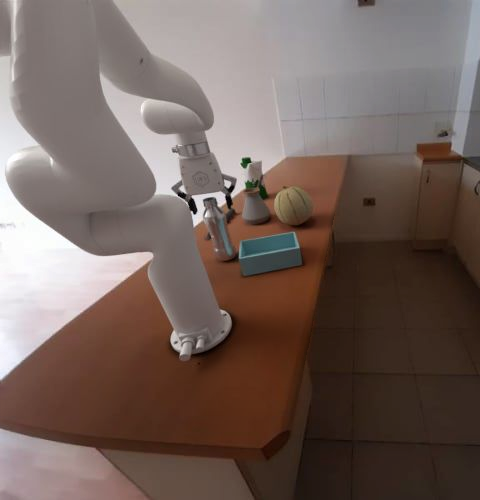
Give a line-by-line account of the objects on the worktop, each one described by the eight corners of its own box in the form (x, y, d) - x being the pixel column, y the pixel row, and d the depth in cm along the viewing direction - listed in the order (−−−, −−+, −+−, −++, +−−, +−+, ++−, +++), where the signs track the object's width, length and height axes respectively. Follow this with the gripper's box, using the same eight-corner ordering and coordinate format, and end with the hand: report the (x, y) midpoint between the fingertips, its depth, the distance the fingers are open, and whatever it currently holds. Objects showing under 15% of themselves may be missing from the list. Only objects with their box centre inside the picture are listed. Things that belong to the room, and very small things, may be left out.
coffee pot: (266, 226, 109) (259, 189, 102) (239, 226, 110) (229, 190, 103) (281, 206, 127) (275, 173, 120) (257, 206, 129) (250, 174, 121)
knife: (229, 211, 123) (231, 206, 122) (238, 216, 124) (240, 211, 122) (196, 236, 102) (198, 231, 101) (208, 243, 103) (210, 237, 102)
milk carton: (245, 200, 138) (235, 158, 128) (258, 194, 144) (250, 154, 134) (257, 202, 134) (248, 159, 124) (270, 196, 140) (263, 155, 130)
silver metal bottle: (231, 264, 86) (213, 203, 76) (212, 262, 88) (192, 203, 78) (241, 253, 92) (225, 195, 82) (223, 252, 93) (205, 195, 83)
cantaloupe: (312, 231, 102) (307, 192, 95) (273, 232, 104) (265, 193, 96) (316, 215, 115) (313, 179, 108) (282, 216, 116) (276, 181, 109)
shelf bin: (302, 265, 83) (299, 247, 80) (243, 276, 80) (238, 258, 77) (297, 247, 93) (294, 231, 90) (244, 257, 90) (240, 240, 86)
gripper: (154, 156, 68) (179, 220, 77) (227, 148, 71) (242, 210, 80) (162, 151, 74) (184, 210, 83) (229, 143, 78) (243, 201, 86)
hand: (213, 210), depth 82 cm, fingers open, 9 cm apart
